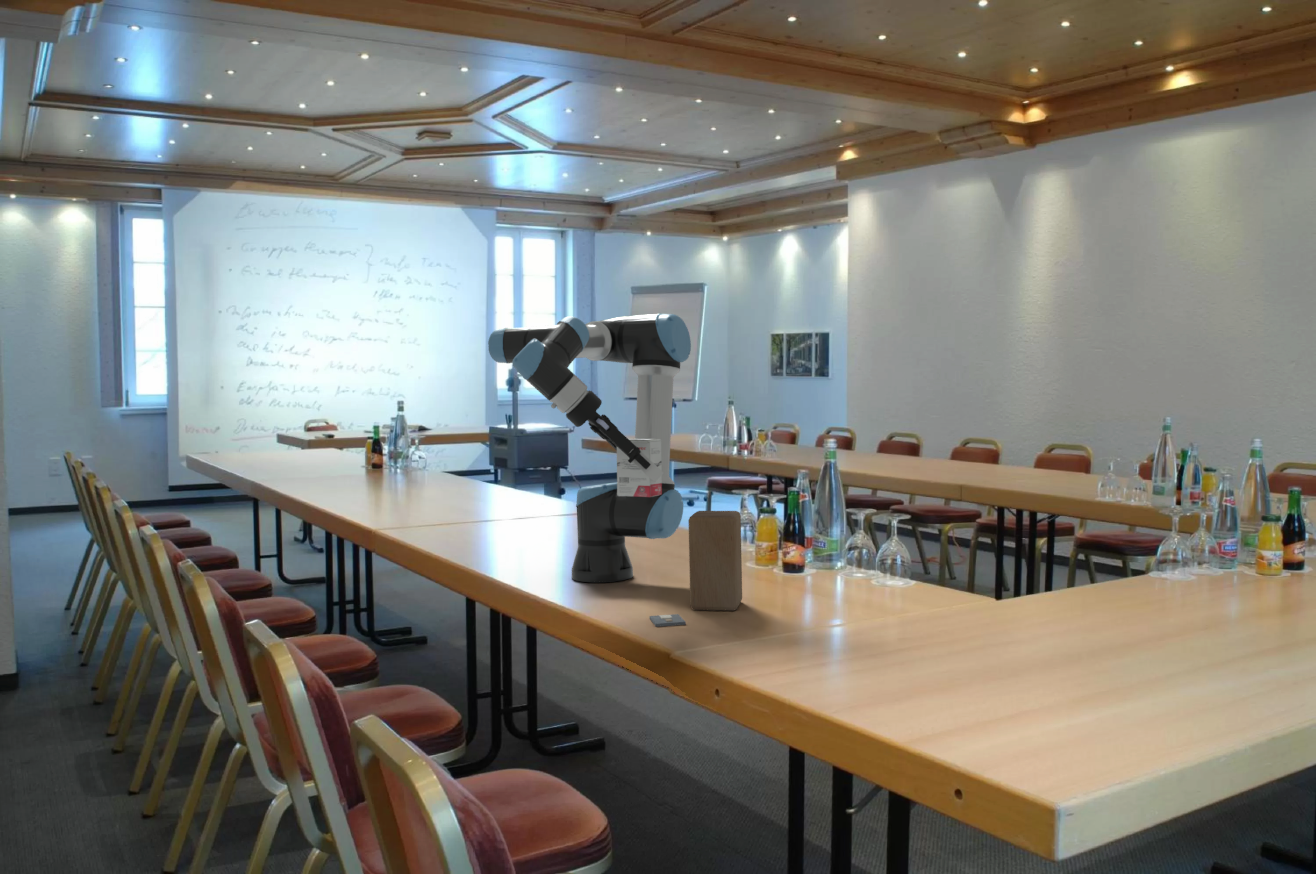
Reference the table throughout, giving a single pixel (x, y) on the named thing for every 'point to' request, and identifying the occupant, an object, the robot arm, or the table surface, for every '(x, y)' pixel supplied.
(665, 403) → the robot arm
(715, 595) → the block
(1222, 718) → the table surface
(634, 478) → the ink box
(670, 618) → the card
